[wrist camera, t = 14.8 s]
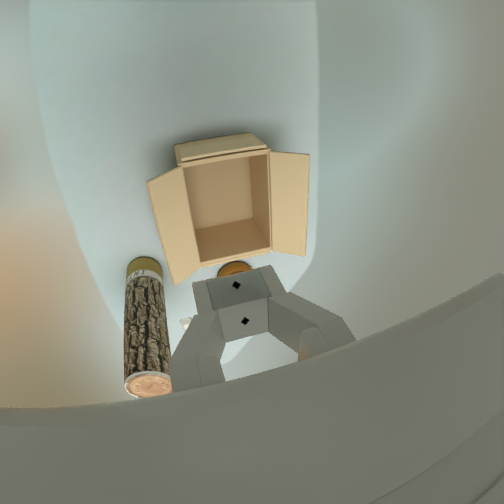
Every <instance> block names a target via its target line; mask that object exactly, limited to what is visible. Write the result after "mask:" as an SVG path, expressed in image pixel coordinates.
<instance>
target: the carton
mask: <svg viewBox="0 0 504 504" xmlns="http://www.w3.org/2000/svg"><path fill="white" fill-rule="evenodd" d="M174 148H175V155H176V161H177V166H181V167H182V172H183V178H184V184H185V190H186V195H187V201H188V206H189V212H190V217H191V222H192V227H193V232H194V237H195V242H196V247H197V252H198V257H199V262H200V266H201V267H202V268H204V267H208V266H213V265H217V264H222V263H226V262H230V261H235V260H239V259H244V258H248V257H253V256H257V255H262V254H266V253H270V250H273V244H272V207H271V176H270V151H271V148H269V147H268V146H267V145H266V144H265V143H263V142H262V141H261V140H259V139H258V138H257V137H256V136H254V135H253V134H251V133H250V132H249V133H241V134H234V135H227V136H220V137H214V138H208V139H202V140H196V141H191V142H185V143H180V144H175V145H174Z"/></svg>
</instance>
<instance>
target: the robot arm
mask: <svg viewBox="0 0 504 504" xmlns="http://www.w3.org/2000/svg"><path fill="white" fill-rule="evenodd" d="M192 287H193V292H194V297H195V302H196V307H197V311H198V315H194V317H193V319H192V320H191V322H190V324H189V326H188V328H187V330H186V331H185V333H184V335H183V337H182V339H181V341H180V342H179V344H178V346H177V348H176V350H175V352H174V353H173V355H172V357H171V359H170V361H169V363H168V365H169V372H170V380H171V387H172V393H170V394H164V395H158V396H152V397H146V398H140V399H133V400H125V401H118V402H109V403H100V404H90V405H77V406H62V407H37V408H7V407H6V408H5V407H0V504H504V274H502V273H496V274H494V275H492V276H490V277H489V278H487V279H485V280H484V281H482V282H480V283H478V284H477V285H475V286H473V287H471V288H469V289H468V290H466V291H464V292H462V293H461V294H458V295H456V296H455V297H453V298H451V299H449V300H447V301H445V302H443V303H441V304H439V305H437V306H435V307H433V308H431V309H429V310H427V311H425V312H423V313H420V314H418V315H416V316H414V317H412V318H410V319H407V320H405V321H403V322H401V323H398V324H396V325H394V326H391V327H389V328H387V329H384V330H382V331H380V332H377V333H375V334H372V335H370V336H367V337H365V338H362V339H360V340H356V339H355V337H354V335H353V334H352V332H351V331H350V329H349V328H348V326H347V325H346V323H345V322H344V320H343V318H342V317H340V316H338V315H336V314H334V313H332V312H330V311H328V310H326V309H324V308H322V307H320V306H318V305H316V304H314V303H312V302H310V301H308V300H306V299H304V298H302V297H300V296H298V295H296V294H293V293H292V292H288V293H286V291H285V289H284V287H283V285H282V283H281V282H280V280H279V278H278V276H277V274H276V273H275V271H274V269H273V267H272V266H271V265H268V266H264V267H260V268H257V269H253V270H248V271H244V272H240V273H236V274H232V275H227V276H222V277H217V278H212V279H207V280H203V281H198V282H193V283H192ZM265 332H269V333H271V334H272V335H273V336H275V337H276V338H277V339H279V340H280V341H281V342H283V343H284V344H286V345H287V346H288V347H290V348H291V349H293V350H294V351H295V352H297V353H298V362H295V363H292V364H289V365H285V366H282V367H278V368H275V369H272V370H268V371H265V372H261V373H258V374H254V375H250V376H246V377H243V378H239V379H234V380H230V381H225V378H224V375H223V371H222V368H221V364H220V359H221V356H222V353H223V350H224V347H225V343H226V342H230V341H233V340H237V339H241V338H244V337H248V336H252V335H256V334H261V333H265Z"/></svg>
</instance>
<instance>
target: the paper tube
mask: <svg viewBox="0 0 504 504" xmlns="http://www.w3.org/2000/svg"><path fill="white" fill-rule="evenodd" d="M170 359H171V351H170V344H169V336H168V327H167V318H166V309H165V299H164V287H163V277H162V269H161V266H160V265H159V264H158V263H157V262H156V261H155V260H153V259H151V258H145V257H143V258H138V259H136V260H134V261H132V262H131V263H130V264H129V266H128V269H127V277H126V291H125V312H124V380H125V389H126V391H127V392H128V393H129V394H131V395H133V396H135V397H138V398H146V397H152V396H158V395H164V394H170V393H172V387H171V380H170V372H169V365H168V363H169V361H170Z"/></svg>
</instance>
